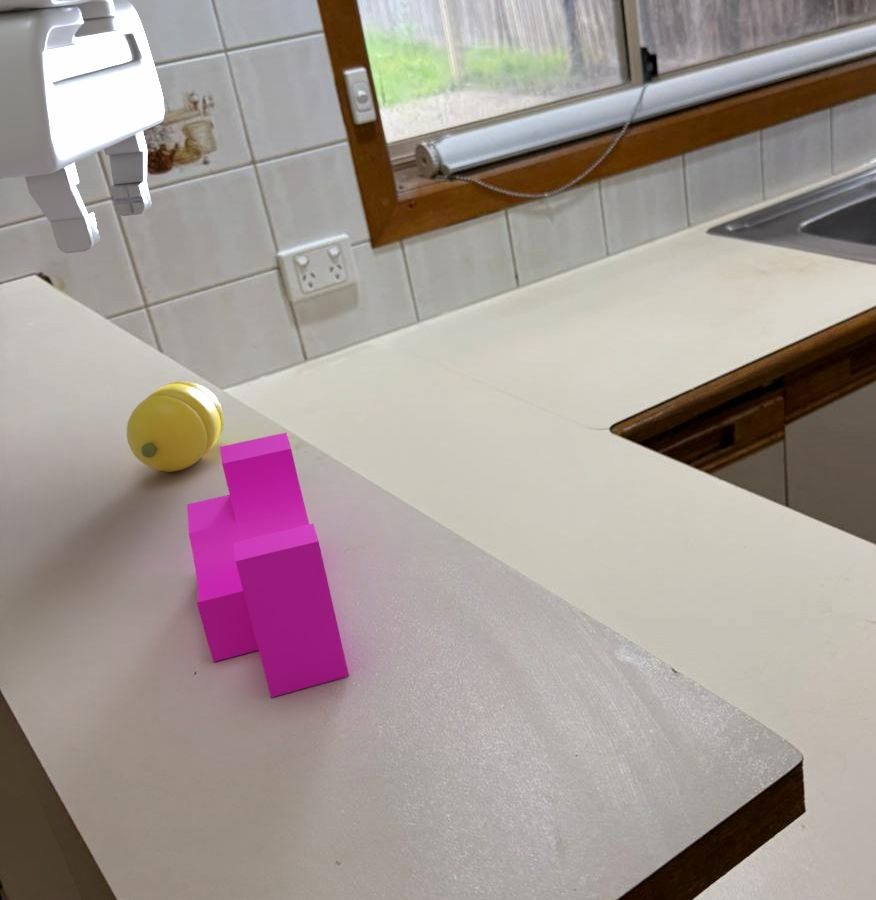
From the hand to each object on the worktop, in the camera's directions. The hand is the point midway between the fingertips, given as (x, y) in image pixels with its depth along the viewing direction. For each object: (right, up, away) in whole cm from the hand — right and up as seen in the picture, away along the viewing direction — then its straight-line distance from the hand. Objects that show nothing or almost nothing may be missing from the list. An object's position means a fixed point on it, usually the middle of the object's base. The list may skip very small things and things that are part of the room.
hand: (110, 230), depth 66 cm
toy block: (+10, -22, -4) cm, 25 cm away
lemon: (-2, -13, +18) cm, 22 cm away
